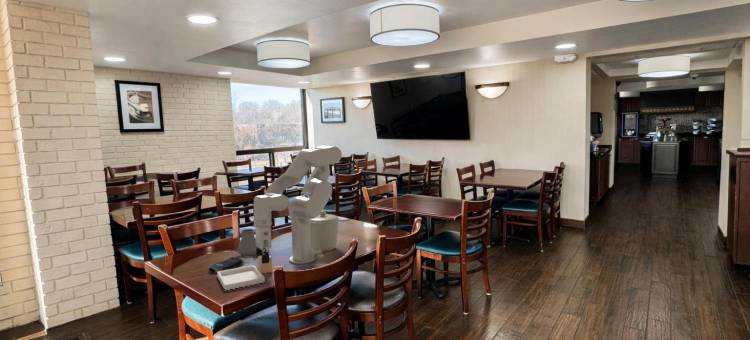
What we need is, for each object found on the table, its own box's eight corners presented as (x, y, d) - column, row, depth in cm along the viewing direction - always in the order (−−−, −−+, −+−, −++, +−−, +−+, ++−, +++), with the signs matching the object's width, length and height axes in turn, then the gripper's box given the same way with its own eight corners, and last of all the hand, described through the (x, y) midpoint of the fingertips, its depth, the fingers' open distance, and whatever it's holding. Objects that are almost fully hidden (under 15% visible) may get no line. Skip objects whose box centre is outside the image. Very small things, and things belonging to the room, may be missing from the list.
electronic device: (228, 265, 198) (204, 270, 184) (230, 254, 198) (206, 259, 184) (243, 270, 194) (218, 276, 180) (244, 259, 194) (220, 264, 180)
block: (269, 268, 187) (268, 254, 186) (272, 272, 183) (271, 257, 182) (258, 270, 185) (257, 255, 184) (261, 274, 180) (260, 258, 180)
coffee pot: (246, 259, 200) (244, 230, 199) (232, 255, 207) (231, 227, 206) (279, 249, 217) (278, 221, 216) (266, 245, 224) (265, 219, 223)
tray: (254, 270, 185) (254, 265, 185) (265, 282, 170) (264, 277, 169) (217, 277, 177) (217, 271, 177) (225, 291, 162) (224, 285, 161)
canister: (317, 256, 204) (316, 215, 202) (300, 248, 218) (299, 210, 216) (347, 249, 215) (346, 210, 213) (328, 242, 229) (327, 205, 227)
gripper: (276, 225, 176) (276, 264, 177) (265, 218, 190) (265, 254, 192) (259, 227, 172) (259, 266, 173) (249, 220, 187) (249, 256, 188)
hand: (262, 260), depth 182 cm, fingers open, 9 cm apart
